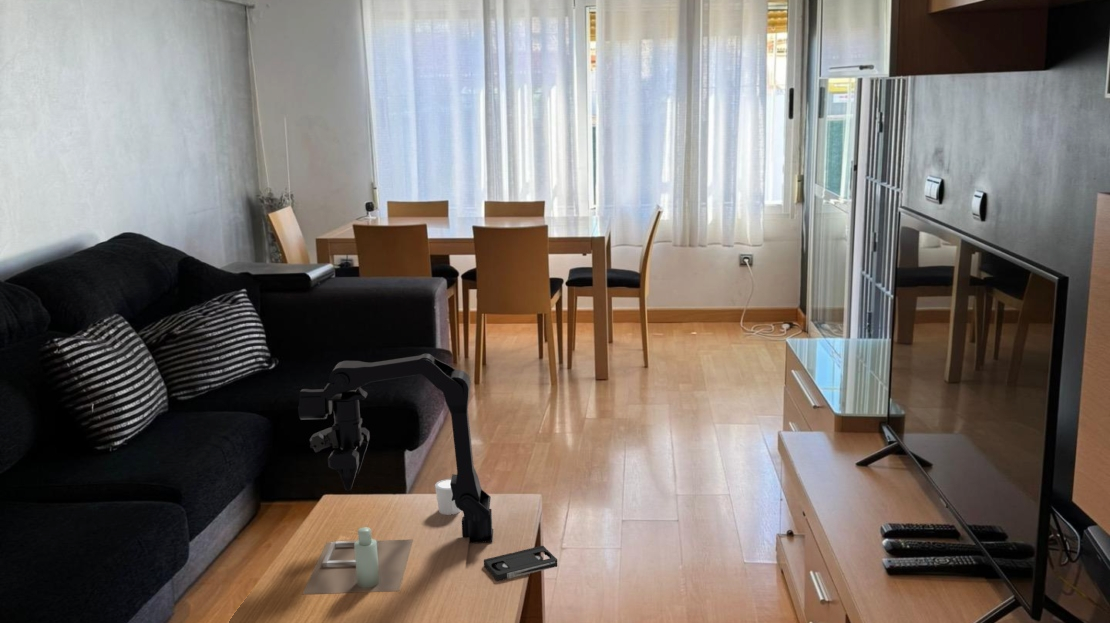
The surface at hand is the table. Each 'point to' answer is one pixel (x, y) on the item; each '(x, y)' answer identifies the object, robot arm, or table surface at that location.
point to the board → (340, 568)
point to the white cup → (445, 498)
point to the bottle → (366, 559)
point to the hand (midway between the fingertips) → (352, 482)
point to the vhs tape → (519, 563)
